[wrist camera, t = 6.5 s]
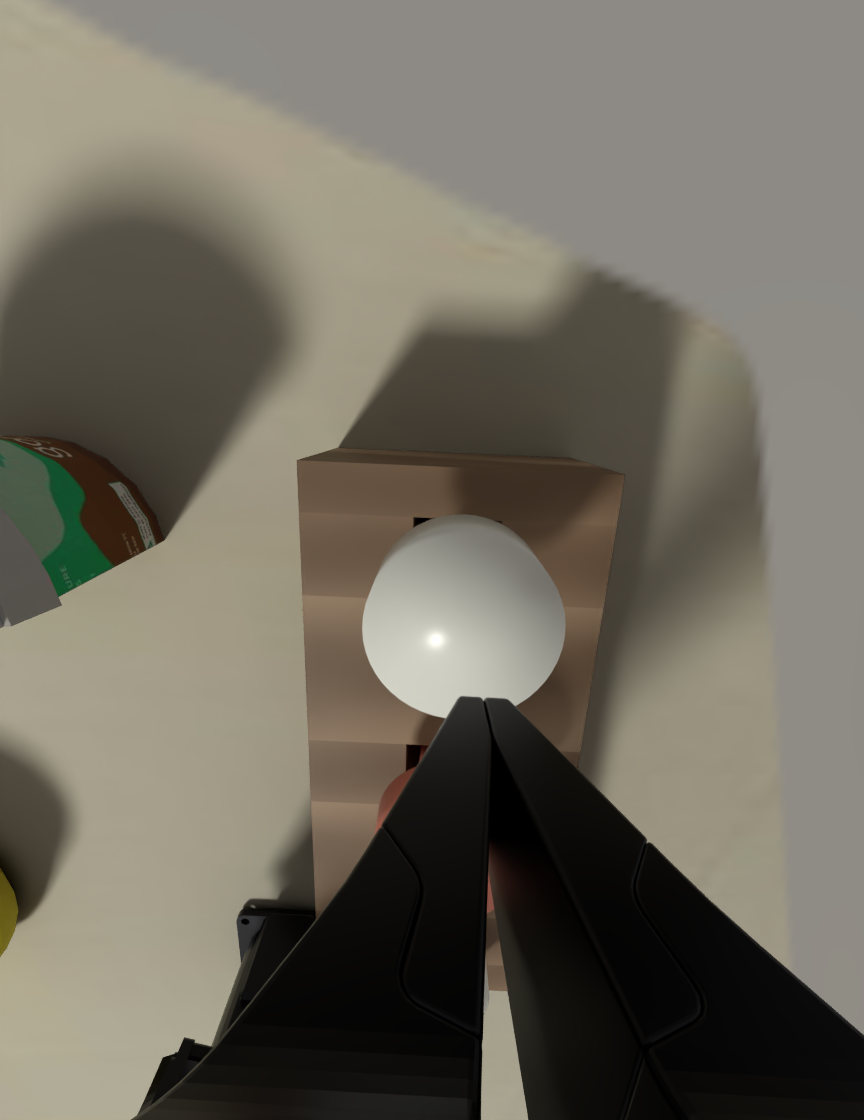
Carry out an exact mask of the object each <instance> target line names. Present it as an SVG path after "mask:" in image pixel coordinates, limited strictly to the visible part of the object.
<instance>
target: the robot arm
mask: <svg viewBox="0 0 864 1120" xmlns="http://www.w3.org/2000/svg"><path fill="white" fill-rule="evenodd" d="M646 843H647V839H646V837H645V836H644V835H643V834H642V833H641V832H640V831H639V830H638V829H637V828H636V827H635V826H634V825H633V824H632V823H631V822H630V821H629V820H628V819H627V818H626V817H625V816H624V815H623V814H622V813H621V812H620V811H619V810H618V809H617V808H616V807H615V806H614V805H613V804H612V803H611V802H610V801H609V800H608V799H607V798H606V797H605V796H604V795H603V794H602V793H601V792H600V791H599V790H598V789H597V788H596V787H595V786H594V785H593V784H592V783H591V782H590V781H589V780H588V779H587V778H586V777H585V776H584V775H583V774H582V773H581V772H580V771H579V770H578V769H577V768H576V767H575V766H574V765H573V764H572V763H571V762H570V761H569V760H568V759H567V758H566V757H565V756H564V755H563V754H562V753H561V752H560V751H559V750H558V749H557V748H556V747H555V746H554V745H553V744H552V743H551V742H550V741H549V740H548V739H547V738H546V737H545V736H544V735H543V734H542V733H541V732H540V731H539V730H538V729H537V728H536V727H535V726H534V725H533V724H532V723H531V722H530V721H529V720H528V719H527V717H526V716H525V715H524V714H523V713H522V712H521V711H520V710H519V709H518V708H517V707H516V706H515V705H514V704H513V703H512V702H511V701H509V700H508V699H506V698H490V697H488V698H485V699H484V701H483V699H482V698H481V697H471V696H460V697H459V698H458V699H457V700H456V702H455V704H454V705H453V707H452V709H451V710H450V712H449V714H448V715H447V717H446V719H445V720H444V722H443V724H442V725H441V727H440V729H439V730H438V732H437V734H436V735H435V737H434V738H433V740H432V742H431V743H430V745H429V747H428V748H427V750H426V752H425V753H424V755H423V757H422V758H421V760H420V762H419V763H418V765H417V767H416V768H415V770H414V771H413V773H412V775H411V776H410V778H409V780H408V781H407V783H406V785H405V786H404V788H403V790H402V791H401V793H400V795H399V796H398V798H397V800H396V801H395V803H394V804H393V806H392V808H391V809H390V811H389V813H388V814H387V816H386V818H385V819H384V821H383V823H382V825H381V828H379V829H378V830H377V832H376V834H375V835H374V837H373V839H372V840H371V842H370V844H369V845H368V847H367V849H366V850H365V852H364V853H363V855H362V856H361V858H360V859H359V861H358V862H357V864H356V865H355V867H354V868H353V870H352V871H351V873H350V874H349V876H348V877H347V879H346V881H345V882H344V883H343V885H342V886H341V887H340V889H339V890H338V891H337V893H336V894H335V895H334V897H333V898H332V899H331V901H330V902H329V903H328V905H327V906H326V907H325V909H324V910H323V911H322V913H321V914H320V915H319V917H318V918H317V919H316V912H313V911H291V910H268V909H243V910H241V911H240V913H239V915H238V918H237V929H238V938H239V948H240V957H241V966H240V969H239V971H238V974H237V977H236V980H235V983H234V985H233V988H232V991H231V994H230V996H229V999H228V1002H227V1005H226V1007H225V1010H224V1013H223V1016H222V1019H221V1021H220V1024H219V1027H218V1030H217V1032H216V1035H215V1038H214V1041H213V1043H212V1046H207V1045H203V1044H199V1043H194V1042H195V1040H194V1039H189V1038H185V1037H184V1039H183V1042H182V1044H181V1046H180V1049H179V1051H178V1053H177V1052H175V1054H172V1055H169V1056H166V1057H163V1058H162V1061H161V1063H160V1065H159V1068H158V1070H157V1072H156V1075H155V1077H154V1079H153V1082H152V1084H151V1086H150V1089H149V1091H148V1093H147V1095H146V1098H145V1100H144V1102H143V1104H142V1106H141V1109H140V1111H139V1113H138V1115H137V1116H136V1117H134V1118H133V1119H131V1120H481V1076H482V1040H483V1015H484V986H485V957H486V928H487V899H488V873H489V879H490V885H491V892H492V898H493V904H494V910H495V916H496V922H497V929H498V935H499V941H500V947H501V953H502V959H503V965H504V972H505V978H506V984H507V990H508V996H509V1002H510V1009H511V1015H512V1021H513V1027H514V1033H515V1039H516V1045H517V1052H518V1058H519V1064H520V1070H521V1076H522V1082H523V1089H524V1095H525V1101H526V1107H527V1113H528V1119H529V1120H864V1035H863V1034H862V1033H860V1031H858V1030H857V1029H856V1028H855V1027H854V1026H853V1025H851V1024H850V1023H849V1022H848V1021H847V1020H846V1019H845V1018H843V1017H842V1016H841V1015H840V1014H839V1013H838V1012H836V1011H835V1010H834V1009H833V1008H832V1007H831V1006H830V1005H828V1004H827V1003H826V1002H825V1001H824V1000H823V999H822V998H820V997H819V996H818V995H817V994H816V993H814V992H813V991H812V990H811V989H810V988H809V987H808V986H807V985H805V984H804V983H803V982H802V981H801V980H800V979H798V978H797V977H796V976H795V975H794V974H793V973H792V972H790V971H789V970H788V969H787V968H786V967H785V966H784V965H782V964H781V963H780V962H779V961H778V960H777V959H775V958H774V957H773V956H772V955H771V954H770V953H769V952H767V951H766V950H765V949H764V948H763V947H762V946H760V945H759V944H758V943H757V942H756V941H755V940H754V939H753V938H751V937H750V936H749V935H748V934H747V933H746V932H745V931H744V930H743V929H741V928H740V927H739V926H738V925H737V924H736V923H735V922H734V921H732V920H731V919H730V918H729V917H728V916H727V915H726V914H725V913H724V912H722V911H721V910H720V909H719V908H718V907H717V906H716V905H715V904H714V903H712V902H711V901H710V900H709V899H708V898H707V897H706V896H705V895H704V894H703V893H702V892H701V891H700V890H699V889H698V888H697V887H696V886H695V885H694V884H693V883H692V882H691V881H689V880H688V879H687V878H686V877H685V876H684V875H683V874H682V873H681V872H680V871H679V870H678V869H677V868H676V867H675V866H674V865H673V864H672V863H671V862H670V861H669V860H668V859H667V858H666V857H665V856H664V855H663V854H662V853H661V852H660V851H659V850H658V849H657V848H656V847H655V846H654V845H653V844H652V843H647V844H646Z"/></svg>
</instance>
